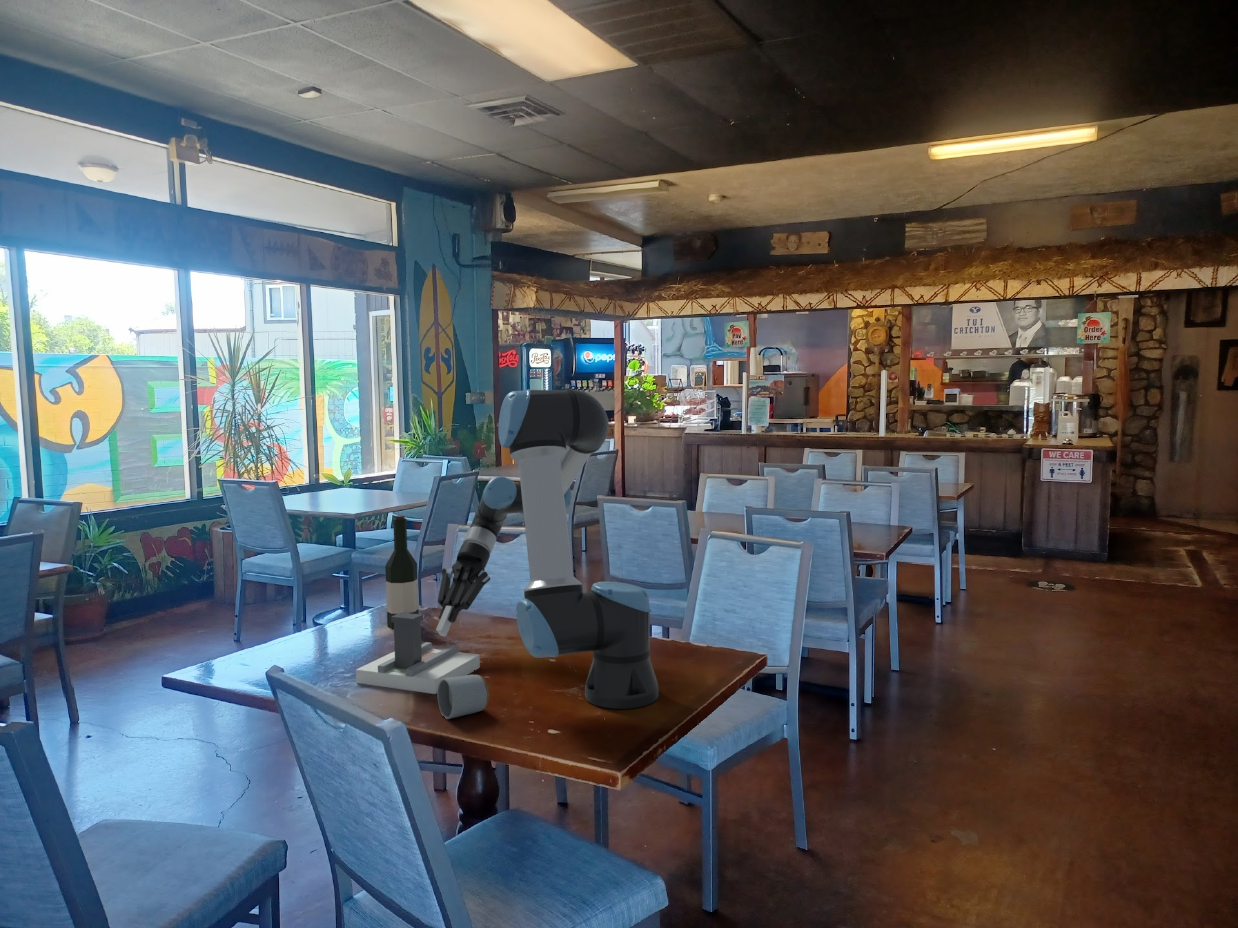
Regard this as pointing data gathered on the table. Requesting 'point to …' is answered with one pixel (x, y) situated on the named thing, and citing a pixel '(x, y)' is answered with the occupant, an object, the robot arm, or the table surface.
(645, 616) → the robot arm
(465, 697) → the ceramic mug
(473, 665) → the plate
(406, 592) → the wine bottle
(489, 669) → the table surface
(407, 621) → the handle
